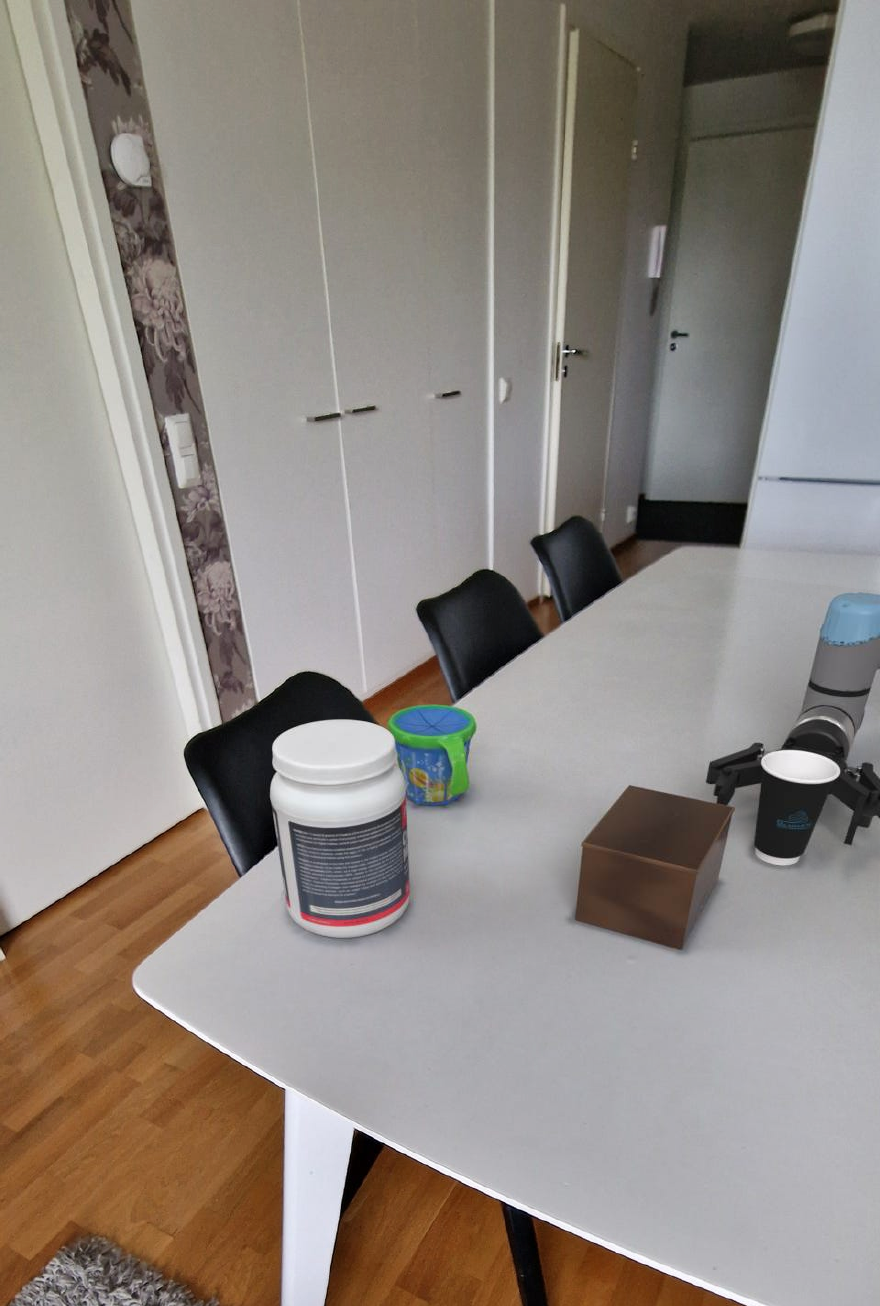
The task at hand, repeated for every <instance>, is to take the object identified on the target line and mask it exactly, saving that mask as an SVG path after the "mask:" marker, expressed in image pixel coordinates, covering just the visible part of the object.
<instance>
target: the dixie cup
mask: <svg viewBox="0 0 880 1306" xmlns="http://www.w3.org/2000/svg"><path fill="white" fill-rule="evenodd" d="M770 752H771V753H769V754H767V755H765V756H764V757H763V758H762V760H761V765H762V767H763V770H762V779H761V783H760V789H759V797H758V807H757V814H756V825H755V831H754V842H753V844H754V848H755V850H754V854H755V856H756V857H757V858H758V859H760V860H761V861H763V862H765V863H768V864H770V865H776V866H790V865H794V864H796V863H798V862H799V860H800V859H801V856H802V855H804V853H805V851H806V849H807V846H808V844H809V842H810V839H811V837H812V834H813V832H814V830H815V827H816V825H817V822H818V820H819V818H820V816H821V813H822V811H823V808H824V806H825V804H826V801H827V799H828V797H829V795H828V794H829V792H830V790H831V787H832V785H833V783H834V780H835V779H836V778H837V777H838V776H839V775H840V768H839V766H838V765H837V764H836V763H835V762H834V761H832V760H830V759H829V758H826V757H824V756H822V755H819V754H815V753H811V752H806V751H799V750H781V751H776V750H775V751H770Z"/></svg>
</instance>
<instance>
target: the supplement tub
mask: <svg viewBox="0 0 880 1306" xmlns="http://www.w3.org/2000/svg"><path fill="white" fill-rule="evenodd" d="M271 748H272V749H271V751H272V760H271V761H272V767H273V769H274V770H275V771H276V772H275V774H274V775H273V777H272V779H271V782H270V788H269V789H270V790H269V798H270V802H271V808H272V815H273V822H274V828H275V835H276V843H277V847H278V856H279V857H278V858H279V862H280V870H281V877H282V883H283V891H284V897H285V907H286V909H287V911H288V913H289V915H290V917H291V919H292V920H293V921H294V922H295V923H296V924H297V925H298V926H300V928H303V929H304V930H306V931H308V932H310V933H313V934H316V935H318V936H323V937H327V938H337V939H349V938H358V937H363V936H367V935H371V934H373V933H377V932H379V931H381V930H384V929H386V928H388V927H389V926H391V925H392V924H394V923H395V922H397V921H398V920H399V919H400V918H401V917H402V916H403V914H404V913H405V912H406V910H407V908H408V906H409V903H410V900H411V887H410V886H411V885H410V861H409V837H408V814H407V812H408V810H407V809H408V808H407V797H406V783H405V779H404V776H403V773H402V771H401V770H400V768H399V767H398V764H397V763H396V762H397V751H396V744H395V738H394V736H393V735H392V734H391V733H390V731H389V729H386V728H385V727H383V726H381V725H379V724H377V723H376V724H375V723H373V722H369V721H364V720H357V719H325V720H317V721H312V722H308V723H304V724H300V725H297V726H295V727H292V728H290V729H288V730H286V731H284V732H282V733H281V734H280V735H278V736H277V737H276V738H275V740H274V741H273V743H272V747H271Z"/></svg>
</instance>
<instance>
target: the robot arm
mask: <svg viewBox="0 0 880 1306" xmlns="http://www.w3.org/2000/svg"><path fill="white" fill-rule="evenodd" d="M878 670H880V594H877V593H870V592H857V593H856V592H845V593H842V594H838V595H837V596H835V597H833V598H832V600H831V601H830V602H829V604H828V606H827V611H826V614H825V618H824V621H823V623H822V624H821V626H820V629H819V637H818V642H817V646H816V650H815V654H814V658H813V662H812V667H811V671H810V675H809V680H808V682H807V685H806V690H805V693H804V697H803V700H802V701H803V702H802V706H801V709H800V712H799V715H798V717H797V719H796V721H795V723H794V724H793V726H792V727H791V729H790V731H789V733H788V735H787V737H786V739H785V740H784V742H783V744H782V745H781V748H779V749H776V750H775V751H781V750H799V751H806V752H811V753H815V754H819V755H822V756H824V757H826V758H829V759H830V760H832V761H834V762H835V763H836V764H837V765H838V766H839V768H840V775H839V776H838V777H837V778H836V779H835V780H834V783H833V785H832V787H831V790H830V792H829V794H828V796H831V795H832V796H833V797H835V798H836V799H837V800H838V801H840V802H841V803H842V804H844V805H845V806H846V807H848V808H849V809H850V810H851V811H853V812H852V816H851V819H850V821H849V825H848V829H847V832H846V835H845V837H844V841H843V844H845V845H847V846H848V845H849V846H852V844H853V842H854V838H855V835H856V832H857V828H858V827H860V828H864V829H868V828H870V826H871V823H872V820H873V818H874V817H877V818H879V819H880V777H879V776H878V775H877V774H876V773H875V772H874V764H873V763H871V762H866V761H865V762H862V763H861V765H858V766H857V767H855V766H854V767H853V766H849V765H848V763H847V762H846V761H847V760H848V757H849V754H850V751H851V749H852V747H853V745H854V742H855V740H854V739H855V738H856V735H857V733H858V731H859V730H860V729H861V726H862V724H863V720H864V717H865V714H866V713H865V712H866V709H865V708H866V705H867V702H868V699H869V695H870V692H871V689H872V685H873V683H874V679H875V677H876V673H877V671H878ZM771 752H772V751H769V750H765V748H764V744H763V743H762V742H754V743H752V744H751V745H750V746H749V747H748V748H745V749H742V750H738V751H736V752H734V753H731V754H728V755H726V756H723V757H719V758H717V759H714V760H711V761H710V762H709V763H708V767H707V773H706V780H705V783H706V784H708V785H714V788H713V796H714V797H717V798H716V802H715V803H717V804H722V805H727V806H729V803H730V802H731V800H732V799H733V797H734V796H735V793H736V789H739V788H745V787H749V786H755V785H759V784H760V785H761V779H762V770H763V767H762V765H761V760H762V758H763V757H764V756H765V755H767V754H769V753H771Z"/></svg>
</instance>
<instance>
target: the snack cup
mask: <svg viewBox="0 0 880 1306" xmlns="http://www.w3.org/2000/svg"><path fill="white" fill-rule="evenodd" d="M387 728H388V729H387V730H388V731H389V732H390V733H391V734H392V735H393V736H394V738H395V744H396V751H397V760H396V762H397V766H398V767H399V768H400V770H401V771H402V773H403V776H404V779H405V783H406V799H408V800H410V801H413V802H414V803H415V804H416V805H417V806H421V805H425V806H431V807H434V806H447V805H448V804H449V803H452V802H454V801H456V800H457V799H458V798H460V796H461V795H462V794H463V793H465V792H466V791H467V790H468V789H469V787H470V777H469V772H468V761H469V755H470V746H471V741H472V739H473V736H474V735H475V733H476V732H477V723H476V719H475V717H474V716H473V715H472V714H471V713H470V712H469V711H467V710H465V709H462V708H459V707H456V706H452V705H445V704H420V705H414V706H409V707H406V708H402V709H400V710H398V711H396V712H395V713H394V714H392V716H391V717H390V718H389V720H388V722H387Z"/></svg>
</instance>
